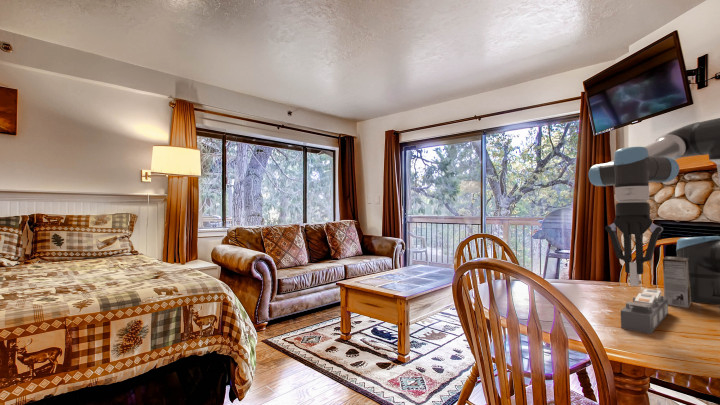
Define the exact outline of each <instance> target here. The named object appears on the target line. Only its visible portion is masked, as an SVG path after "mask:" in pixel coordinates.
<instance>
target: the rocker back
mask: <svg viewBox="0 0 720 405" xmlns="http://www.w3.org/2000/svg"><path fill="white" fill-rule="evenodd" d="M642 293H643V294H650V295H656V299H655V300H658V299H659V297H660V296H661V294H662V290H657V289H650V288H644V289H643V291H642Z"/></svg>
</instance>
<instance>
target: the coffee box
mask: <svg viewBox="0 0 720 405" xmlns="http://www.w3.org/2000/svg"><path fill="white" fill-rule="evenodd" d="M662 270H663V272H662V273H663V293H664V294H663V296H664V297H665V298H668V306H674V307H680V308H687V309H689V308H690V306H691V303H692V301H691V290H690V270H689V258H681V257H677V256H669V255H667V256H666V255H665V257H664V258H663V259H662Z"/></svg>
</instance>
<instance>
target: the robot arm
mask: <svg viewBox="0 0 720 405" xmlns="http://www.w3.org/2000/svg"><path fill="white" fill-rule="evenodd" d="M706 155H707V156H708V160H709V161H710V162H712V163H714V164H716V169H717V175H718V181H719V183H720V117H718V118H714V119H709V120H703V121H698V122H694V123H689V124H687V125H683V126H681V127H679V128H676V129H675V130H672V131H670V132H668V133H665V134H663V135H661V136H659V137H658V138H656V140H655V141H654V142H652V143H650V144H648V145H644V146H630V147H622V148H619V149H617V150H616V151H615V152H614V157H613V158H614V159H613V160H611V161H608V162H605V163H599V164H594V165H592V166H591V167H590V169H589V171H588V179H589V182H590V184H591V185H593V186H595V187H609V186H614V195H615V197H614V199H615V201H616V203H615V217H614V220H613V222H612V223H611V224H609V225H606V226H604V229H605V230H606V232H607V234H609V238H610V240H611V244H612V247H613V250H614V254H615V256H616V259H618V260H622V261H623V262H624V271H625V273H626V274H629V285H630V286H631V287H639V286H640V275H643V274H644V263H646V262H650V261H652V260H653V256H654V252H655V250H656V246H657V242H658V238H659V235H660V234H661V233H662V232H663V231H664V227H662V226H659V225H657V224H656V223H655V224H654V222H653V220H652V219H651V212H650V211H651V210H650V209H651V208H650V207H651V206H650V205H651V204H650V203H649V202H647V201H649V200H650V184H649V183H656V184H660V183H667V182H671V181H673V180H675V178H676V177H677V176H678V174H679V172H680V164H679V163H678V162H677V161H676V160H678V159H681V158H687V157H695V156H696V157H697V156H706ZM617 228H618V230H619V231H620V232H621V233H622V234H623V248H622V246H621V243H620V240H619V236H618V234H617ZM648 229H650V232H651V235H650V237H649V241H648V244H647V248H646V250H645V256H644V241H643V240H644V234H645V233H646V232H647V231H648ZM632 235H634V243H635V261H633V258H632V257H633V256H632V255H633V254H632ZM675 251H676V257H681V258H689V270H690V290H691V302H694V303H695V302H696V303H703V304H711V305H713V304H714V305H715V304H716V305H720V236H719V235H713V236H712V235H711V236H693V237H691V236H689V237H680V238H679V239H677V241H676V249H675Z"/></svg>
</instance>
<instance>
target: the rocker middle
mask: <svg viewBox="0 0 720 405" xmlns="http://www.w3.org/2000/svg"><path fill="white" fill-rule="evenodd" d="M635 298H636V299H635V302H639V303H646V304H650V305H651V306H652V305H653V303H654V301H655V299H656V295H650V294H643V292H638V294H637V295H636V297H635Z"/></svg>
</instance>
